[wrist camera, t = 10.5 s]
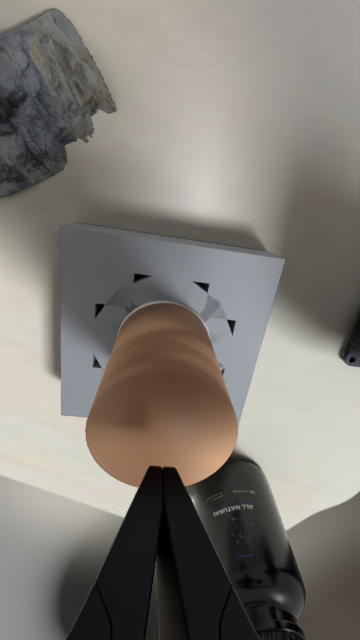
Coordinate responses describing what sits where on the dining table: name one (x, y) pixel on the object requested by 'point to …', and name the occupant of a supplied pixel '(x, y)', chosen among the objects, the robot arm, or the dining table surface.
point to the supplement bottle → (253, 547)
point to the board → (158, 284)
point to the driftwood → (45, 98)
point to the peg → (162, 399)
